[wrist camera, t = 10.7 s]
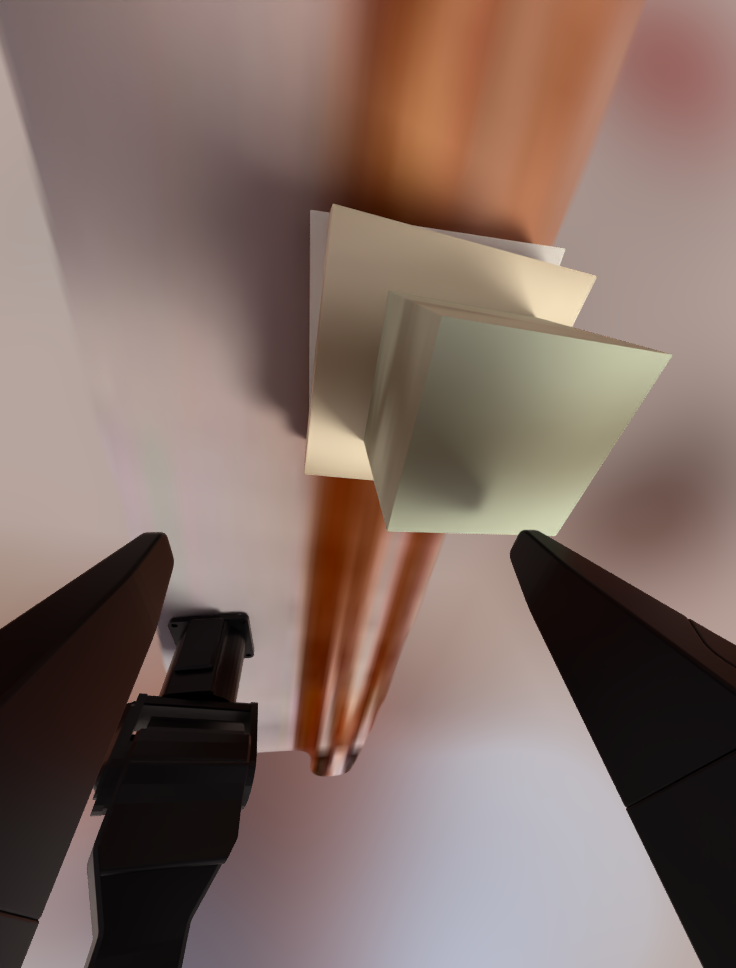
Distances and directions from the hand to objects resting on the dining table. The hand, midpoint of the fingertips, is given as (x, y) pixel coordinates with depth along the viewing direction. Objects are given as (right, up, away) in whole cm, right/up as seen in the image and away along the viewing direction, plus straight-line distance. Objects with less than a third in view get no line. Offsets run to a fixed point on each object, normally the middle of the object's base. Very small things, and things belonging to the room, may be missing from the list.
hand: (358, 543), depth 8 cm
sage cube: (+3, +6, +5) cm, 9 cm away
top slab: (+3, +7, +8) cm, 11 cm away
